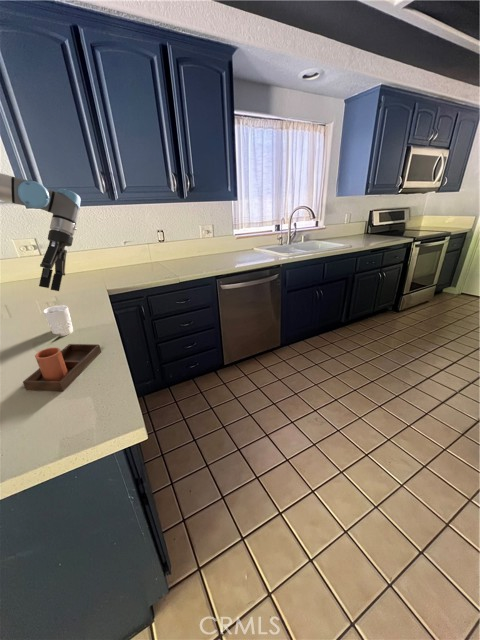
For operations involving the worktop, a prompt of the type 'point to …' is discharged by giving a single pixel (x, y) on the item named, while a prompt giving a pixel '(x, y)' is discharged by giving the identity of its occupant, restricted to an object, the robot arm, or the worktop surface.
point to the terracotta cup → (51, 364)
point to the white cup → (59, 319)
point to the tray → (75, 363)
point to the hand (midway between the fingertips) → (49, 289)
